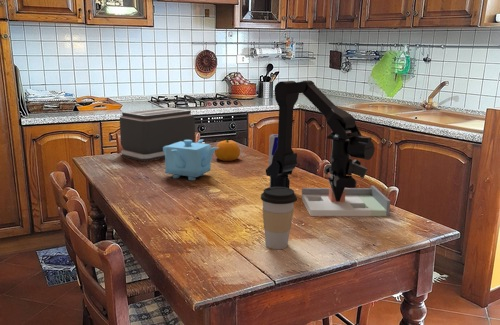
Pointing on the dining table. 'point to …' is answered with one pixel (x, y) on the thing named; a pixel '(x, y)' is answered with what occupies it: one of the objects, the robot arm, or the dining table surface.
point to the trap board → (346, 202)
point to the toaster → (154, 131)
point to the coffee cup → (277, 215)
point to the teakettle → (188, 159)
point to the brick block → (332, 198)
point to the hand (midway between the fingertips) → (337, 201)
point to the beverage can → (272, 146)
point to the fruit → (227, 150)
